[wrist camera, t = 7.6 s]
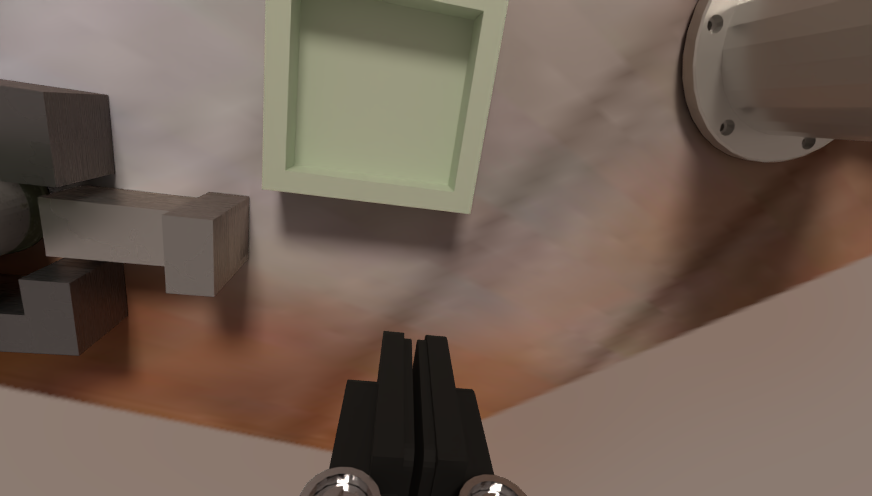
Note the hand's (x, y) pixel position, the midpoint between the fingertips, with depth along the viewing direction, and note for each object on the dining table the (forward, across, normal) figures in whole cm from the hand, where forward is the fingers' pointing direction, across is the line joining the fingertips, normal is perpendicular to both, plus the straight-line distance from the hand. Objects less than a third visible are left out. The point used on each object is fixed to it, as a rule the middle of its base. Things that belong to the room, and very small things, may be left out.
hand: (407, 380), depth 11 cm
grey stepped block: (+13, +13, +1) cm, 18 cm away
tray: (+14, +2, -7) cm, 16 cm away
